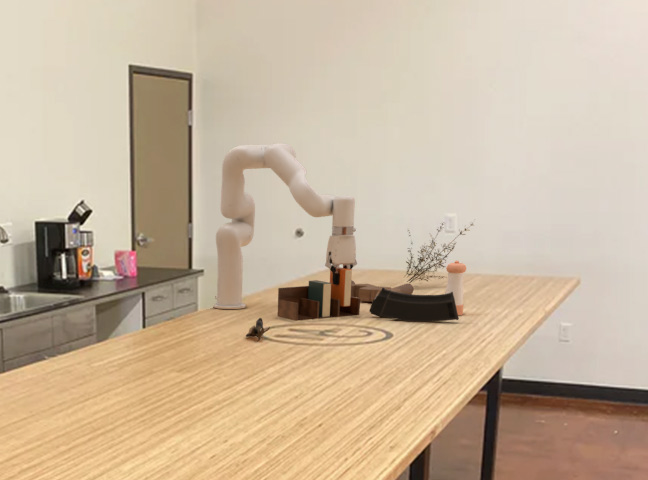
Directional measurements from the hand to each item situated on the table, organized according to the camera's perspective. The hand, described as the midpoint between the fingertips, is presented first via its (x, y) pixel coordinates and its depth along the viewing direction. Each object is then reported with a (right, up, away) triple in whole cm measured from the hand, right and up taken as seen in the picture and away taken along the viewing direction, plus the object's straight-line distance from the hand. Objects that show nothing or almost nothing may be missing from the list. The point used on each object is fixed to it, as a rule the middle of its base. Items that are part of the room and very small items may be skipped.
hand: (340, 283), depth 384 cm
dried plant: (+54, +17, +86) cm, 103 cm away
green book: (-8, -12, 0) cm, 14 cm away
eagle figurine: (-34, -27, -41) cm, 60 cm away
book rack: (-8, -12, 0) cm, 15 cm away
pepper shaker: (+42, -10, +6) cm, 44 cm away
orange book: (0, -7, +2) cm, 8 cm away
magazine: (+24, -15, -8) cm, 30 cm away
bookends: (+19, +4, +49) cm, 53 cm away
